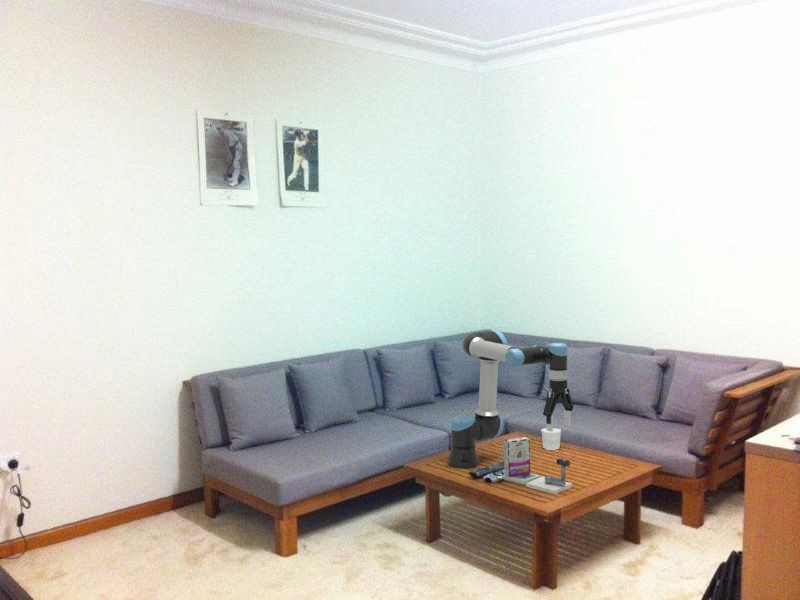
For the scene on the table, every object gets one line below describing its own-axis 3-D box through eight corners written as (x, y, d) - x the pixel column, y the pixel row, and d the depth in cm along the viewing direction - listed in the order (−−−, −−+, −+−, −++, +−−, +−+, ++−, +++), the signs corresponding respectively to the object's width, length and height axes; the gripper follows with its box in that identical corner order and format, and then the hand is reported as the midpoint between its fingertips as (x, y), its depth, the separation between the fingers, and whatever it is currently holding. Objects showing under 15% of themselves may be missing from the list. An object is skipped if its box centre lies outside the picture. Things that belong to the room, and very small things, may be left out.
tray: (494, 477, 331) (494, 473, 330) (508, 472, 338) (508, 468, 338) (525, 485, 319) (525, 481, 319) (539, 479, 326) (539, 475, 326)
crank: (543, 482, 316) (543, 457, 316) (547, 480, 319) (547, 455, 318) (566, 487, 309) (566, 461, 308) (570, 485, 312) (570, 459, 311)
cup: (537, 447, 380) (537, 429, 379) (553, 445, 384) (553, 427, 383) (549, 452, 371) (549, 433, 370) (565, 449, 375) (565, 431, 374)
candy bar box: (524, 471, 333) (524, 436, 332) (530, 474, 328) (530, 438, 327) (503, 474, 329) (503, 438, 328) (508, 477, 324) (508, 441, 323)
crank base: (526, 486, 317) (526, 482, 317) (542, 479, 326) (542, 475, 326) (555, 494, 307) (555, 490, 307) (571, 486, 316) (571, 482, 316)
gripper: (549, 384, 299) (549, 435, 300) (581, 376, 316) (581, 424, 318) (534, 382, 304) (534, 432, 305) (566, 374, 322) (566, 421, 323)
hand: (558, 428), depth 311 cm, fingers open, 13 cm apart
